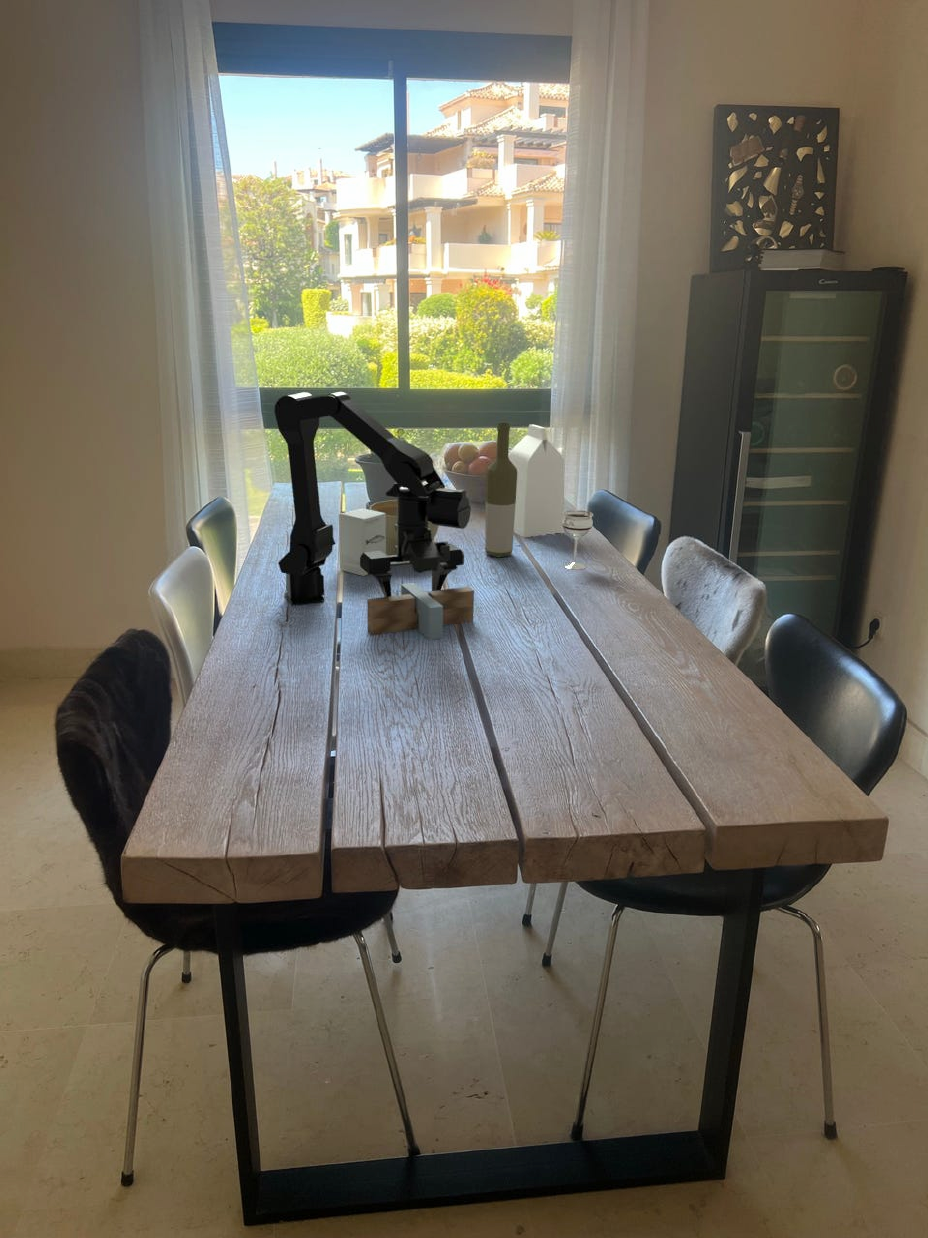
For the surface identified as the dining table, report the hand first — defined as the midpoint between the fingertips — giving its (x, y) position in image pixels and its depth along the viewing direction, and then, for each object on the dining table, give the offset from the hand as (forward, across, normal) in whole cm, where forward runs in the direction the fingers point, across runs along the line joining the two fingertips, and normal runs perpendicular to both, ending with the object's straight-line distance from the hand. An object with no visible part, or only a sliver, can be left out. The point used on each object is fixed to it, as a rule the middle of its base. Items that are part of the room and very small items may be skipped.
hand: (412, 602), depth 177 cm
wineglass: (+3, +46, +17) cm, 49 cm away
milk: (+3, +52, +48) cm, 71 cm away
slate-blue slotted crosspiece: (+3, 0, -5) cm, 5 cm away
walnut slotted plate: (+3, 0, -4) cm, 5 cm away
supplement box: (+3, +1, +32) cm, 32 cm away
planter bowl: (+3, +14, +40) cm, 42 cm away
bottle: (+3, +34, +31) cm, 46 cm away
